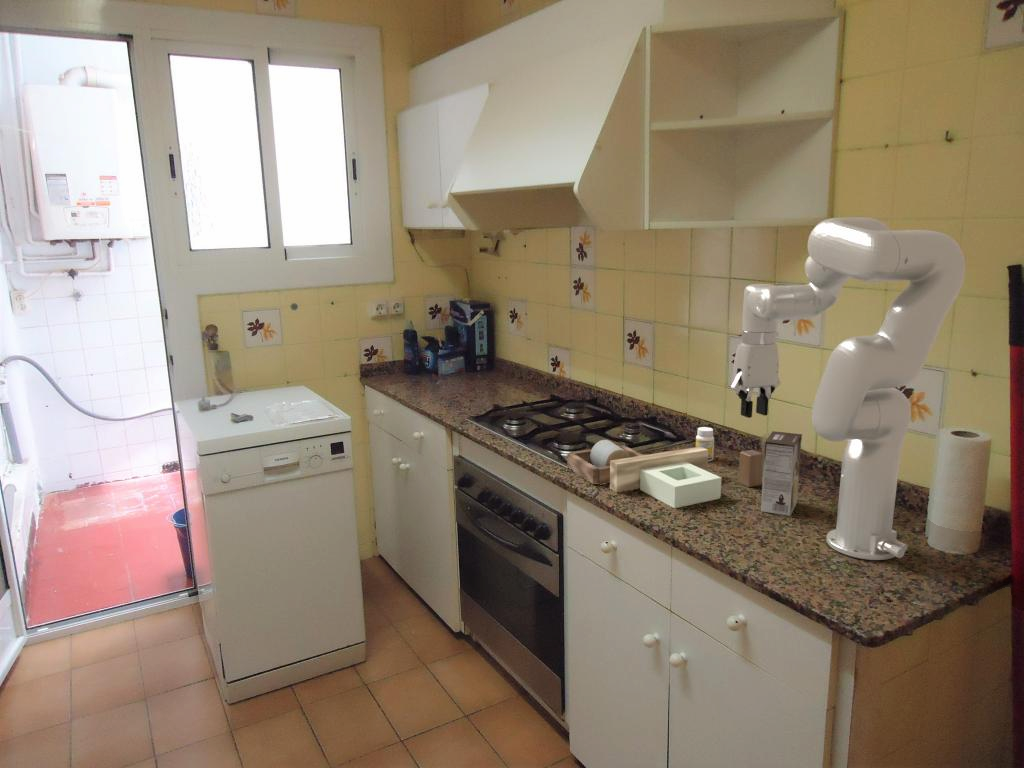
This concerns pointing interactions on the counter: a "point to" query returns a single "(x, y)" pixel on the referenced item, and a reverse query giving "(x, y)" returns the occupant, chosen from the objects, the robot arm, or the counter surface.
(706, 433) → the supplement bottle
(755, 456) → the wooden block
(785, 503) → the coffee box
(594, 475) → the brown wooden tray
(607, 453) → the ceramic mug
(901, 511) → the counter surface
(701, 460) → the birch wall
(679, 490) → the socket block
